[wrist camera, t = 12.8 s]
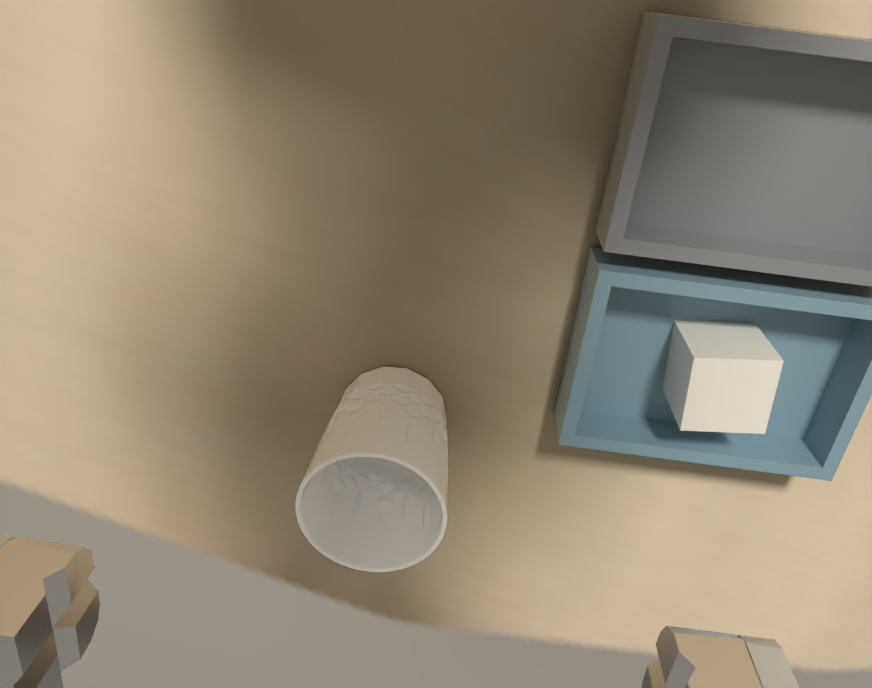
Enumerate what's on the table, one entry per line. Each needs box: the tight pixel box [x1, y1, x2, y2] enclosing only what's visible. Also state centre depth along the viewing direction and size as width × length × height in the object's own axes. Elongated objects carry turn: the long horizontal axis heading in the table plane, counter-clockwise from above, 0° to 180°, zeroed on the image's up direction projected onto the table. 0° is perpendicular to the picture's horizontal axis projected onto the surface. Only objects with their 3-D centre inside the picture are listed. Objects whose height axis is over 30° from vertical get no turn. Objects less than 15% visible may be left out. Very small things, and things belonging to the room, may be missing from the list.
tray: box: [595, 11, 872, 287], centre depth 35 cm, size 11×16×4 cm
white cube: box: [663, 320, 784, 434], centre depth 40 cm, size 4×4×4 cm
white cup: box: [295, 366, 448, 572], centre depth 41 cm, size 8×8×10 cm
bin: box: [554, 247, 872, 481], centre depth 41 cm, size 11×16×4 cm
